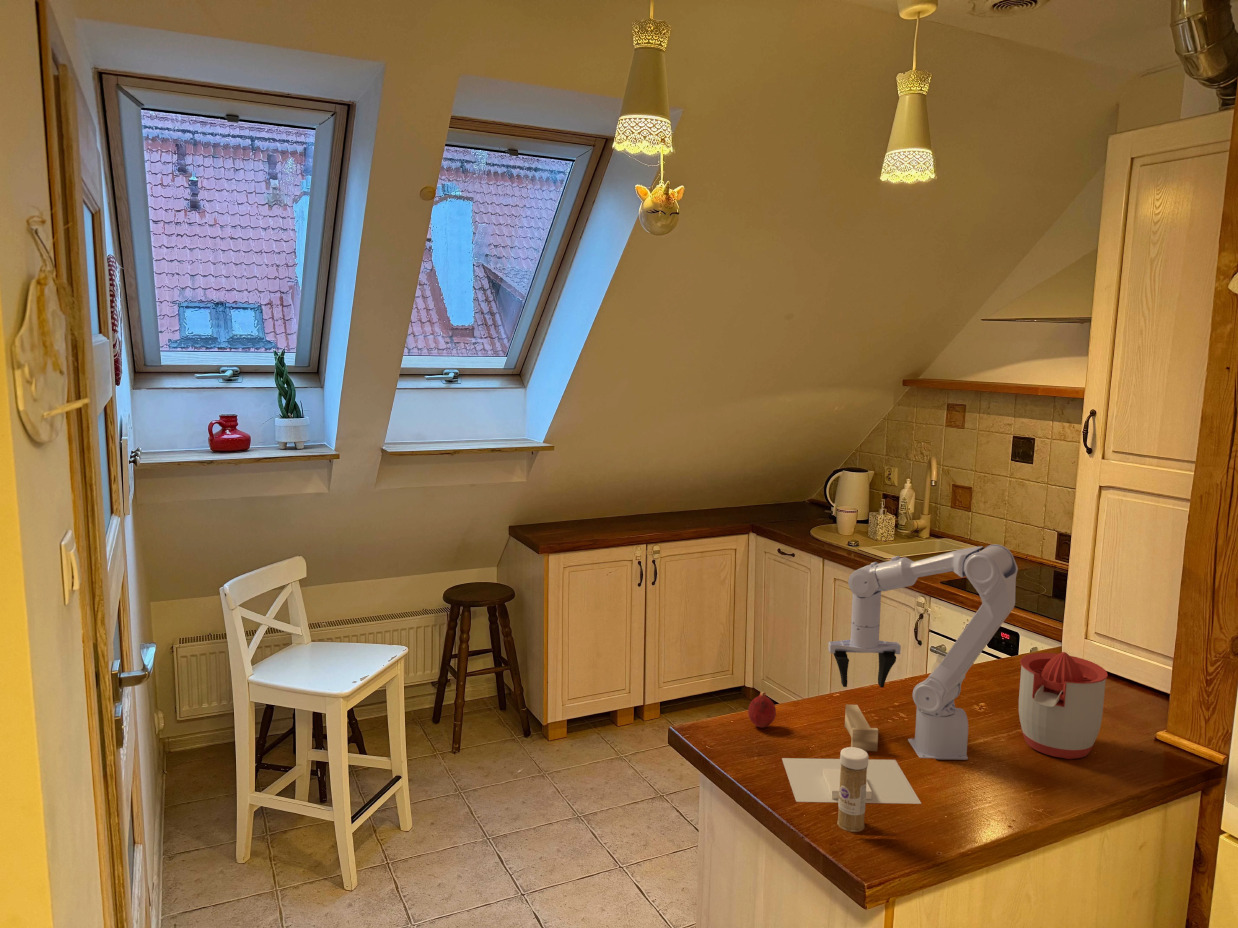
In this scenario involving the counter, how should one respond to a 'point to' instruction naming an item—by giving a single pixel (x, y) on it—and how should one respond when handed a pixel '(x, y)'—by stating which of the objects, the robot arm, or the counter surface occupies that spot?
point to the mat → (809, 772)
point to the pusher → (860, 729)
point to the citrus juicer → (1061, 703)
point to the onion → (762, 711)
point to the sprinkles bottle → (852, 789)
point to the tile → (838, 783)
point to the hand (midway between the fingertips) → (862, 685)
